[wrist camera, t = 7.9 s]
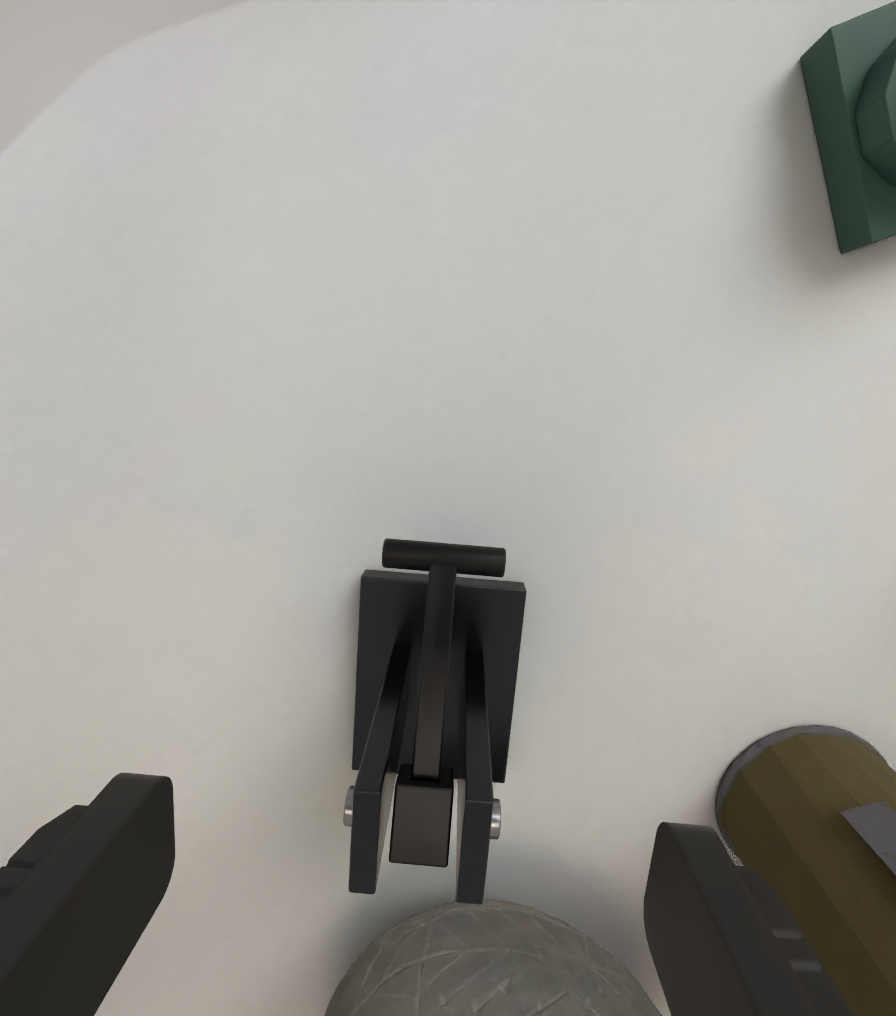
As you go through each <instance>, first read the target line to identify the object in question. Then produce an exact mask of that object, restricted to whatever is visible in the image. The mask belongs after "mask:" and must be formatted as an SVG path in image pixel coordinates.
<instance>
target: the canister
mask: <svg viewBox="0 0 896 1016" xmlns="http://www.w3.org/2000/svg"><path fill="white" fill-rule="evenodd" d="M716 816H717V820H718V824H719V827H720V830H721V833H722V835H723V838H724V840H725V841H726V843H727V844H728V846H729V847H730V848H731V850H732V851H733V852H734V854H735V855H736V856H737V857H738V858H739V859H740V860H741V862H742V864H743V865H744V866H746V867H750V868H751V869H753V870H754V871H755V872H756V873H757V874H758V875H759V876H760V877H761V878H762V879H763V880H764V881H765V882H766V883H767V884H768V885H769V886H770V887H771V888H772V889H773V890H774V891H775V892H776V893H777V894H778V895H779V896H780V897H781V898H782V899H783V901H784V902H785V904H786V906H787V907H788V909H789V910H790V912H791V914H792V915H793V917H794V919H795V920H796V922H797V923H798V925H799V927H800V928H801V930H802V931H803V933H804V938H805V941H806V942H809V943H810V944H811V946H812V948H813V949H814V951H815V952H816V954H817V956H818V957H819V959H820V961H821V962H822V964H823V965H824V971H825V973H826V974H829V975H830V977H831V978H832V980H833V982H834V983H835V985H836V986H837V988H838V990H839V991H840V993H841V994H842V996H843V998H844V999H845V1001H846V1003H847V1004H848V1006H849V1007H850V1009H851V1011H852V1012H853V1014H854V1016H896V772H895V771H894V770H893V769H892V768H891V767H889V766H888V764H887V762H886V761H885V759H884V758H883V757H882V756H881V755H880V753H879V752H878V751H877V750H876V749H875V748H874V747H873V746H872V745H871V744H869V743H868V742H867V741H865V740H863V739H861V738H860V737H858V736H856V735H854V734H852V733H851V732H848V731H845V730H841V729H838V728H835V727H828V726H819V725H813V726H801V727H793V728H789V729H786V730H782V731H778V732H776V733H774V734H772V735H770V736H768V737H766V738H764V739H762V740H760V741H758V742H757V743H755V744H753V745H752V746H750V747H749V748H748V749H747V750H746V751H745V752H743V753H742V754H741V755H740V756H739V757H738V758H737V759H736V760H735V761H734V762H733V764H732V765H731V766H730V768H729V769H728V771H727V773H726V774H725V776H724V778H723V781H722V783H721V786H720V788H719V792H718V799H717V807H716Z"/></svg>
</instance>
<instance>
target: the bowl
mask: <svg viewBox="0 0 896 1016" xmlns="http://www.w3.org/2000/svg"><path fill="white" fill-rule="evenodd" d="M324 1016H662V1015H661V1014H660V1012H659V1011H658V1010H657V1008H656V1007H655V1005H654V1004H653V1003H652V1001H651V1000H650V998H649V997H648V995H647V994H646V993H645V991H644V990H643V988H642V987H641V985H640V984H639V983H638V982H637V981H636V979H635V978H634V977H633V976H632V975H631V973H630V972H629V971H628V970H627V969H626V968H625V967H624V966H623V965H621V964H620V963H619V962H617V961H616V960H615V959H614V958H613V957H612V956H611V955H610V954H608V953H607V952H606V951H605V950H603V949H602V948H601V947H599V946H598V945H597V944H596V943H594V942H593V941H592V940H591V939H589V938H588V937H586V936H585V935H583V934H582V933H580V932H579V931H577V930H576V929H574V928H572V927H571V926H569V925H568V924H566V923H565V922H562V921H560V920H558V919H556V918H554V917H551V916H549V915H547V914H545V913H543V912H540V911H538V910H536V909H534V908H531V907H527V906H523V905H519V904H515V903H511V902H504V901H491V900H483V903H482V905H479V904H468V903H457V902H453V903H448V904H445V905H441V906H437V907H434V908H432V909H429V910H427V911H425V912H422V913H420V914H417V915H415V916H412V917H410V918H408V919H406V920H405V921H403V922H401V923H399V924H397V925H395V926H394V927H392V928H391V929H390V930H389V931H386V932H384V933H383V934H382V935H381V936H380V937H378V938H377V939H376V940H375V941H374V942H372V943H371V944H370V945H369V946H368V947H367V949H366V950H365V951H364V952H363V953H362V954H361V955H360V957H359V958H358V959H357V960H356V961H355V962H354V963H353V964H352V966H351V967H350V969H349V970H348V972H347V973H346V975H345V976H344V978H343V979H342V981H341V982H340V983H339V985H338V987H337V989H336V991H335V993H334V995H333V996H332V998H331V1000H330V1003H329V1005H328V1008H327V1010H326V1013H325V1015H324Z"/></svg>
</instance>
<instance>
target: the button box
mask: <svg viewBox="0 0 896 1016" xmlns="http://www.w3.org/2000/svg"><path fill="white" fill-rule="evenodd" d="M800 60H801V64H802V69H803V74H804V79H805V84H806V88H807V93H808V98H809V103H810V107H811V112H812V117H813V122H814V127H815V131H816V136H817V141H818V146H819V150H820V155H821V160H822V165H823V170H824V174H825V179H826V184H827V189H828V193H829V198H830V203H831V208H832V213H833V217H834V222H835V227H836V232H837V236H838V241H839V246H840V251H841V254H843V253H846V252H849V251H852V250H855V249H857V248H860V247H863V246H866V245H869V244H871V243H874V242H877V241H880V240H882V239H885V238H888V237H890V236H893V235H896V1H894V2H892V3H889V4H887V5H885V6H882V7H880V8H877V9H875V10H872V11H870V12H868V13H865V14H863V15H860V16H858V17H855V18H853V19H851V20H848V21H846V22H843V23H841V24H838V25H836V26H834V27H831V28H830V29H829V30H828V31H827V32H826V33H825V34H824V35H823V36H822V37H821V38H820V39H819V40H818V41H817V42H816V43H815V44H814V45H813V46H811V47H810V48H809V49H808V50H807V51H806V52H805V53H804V54H803V55H802V56H801V58H800Z"/></svg>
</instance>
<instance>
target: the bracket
mask: <svg viewBox="0 0 896 1016" xmlns="http://www.w3.org/2000/svg"><path fill="white" fill-rule="evenodd" d="M428 579H429V575H426V574H414V573H402V572H390V571H378V570H365V571H364V573H363V575H362V576H361V588H360V609H359V630H358V652H357V673H356V694H355V716H354V737H353V758H352V769H353V770H359V772H358V776H357V779H356V783H355V786H350V787H349V789H348V792H347V796H346V801H345V807H344V817H343V822H344V825H345V826H351V827H352V828H351V849H350V870H349V892H352V893H363V894H374V893H375V891H376V885H377V879H378V874H379V868H380V863H381V857H382V851H383V846H384V840H385V834H386V829H387V823H388V818H389V812H390V806H391V801H392V795H393V789H394V784H395V778H396V774H398V773H399V769H400V765H401V764H402V763H405V764H413V753H414V741H415V730H416V718H417V707H418V695H419V684H420V672H421V660H422V649H423V637H424V626H425V614H426V603H427V591H428ZM525 599H526V589H525V585H524V583H521V582H509V581H497V580H485V579H473V578H461V577H456V583H455V595H454V608H453V620H452V633H451V645H450V657H449V670H448V682H447V694H446V707H445V719H444V732H443V744H442V756H441V767H451V768H453V779H458V801H457V858H456V902H457V903H468V904H479V905H482V903H483V896H484V886H485V877H486V868H487V859H488V850H489V841H490V839H496V840H497V839H498V838H499V835H500V825H501V805H500V800H499V799H494V798H493V786H492V782H498V783H504V782H505V774H506V766H507V757H508V748H509V739H510V730H511V722H512V713H513V704H514V695H515V686H516V678H517V669H518V660H519V651H520V642H521V634H522V625H523V616H524V607H525Z"/></svg>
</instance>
